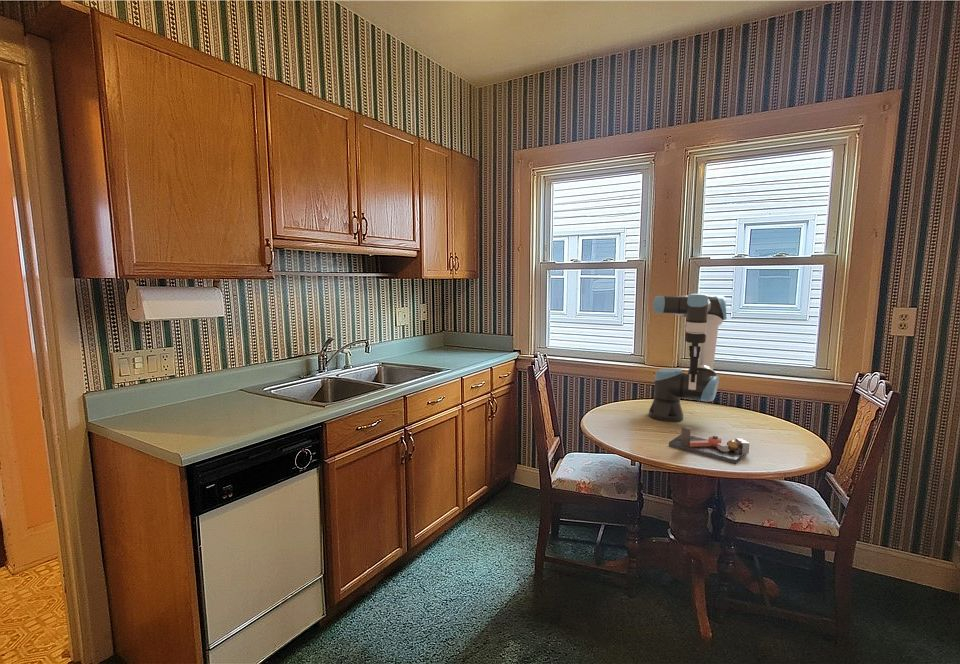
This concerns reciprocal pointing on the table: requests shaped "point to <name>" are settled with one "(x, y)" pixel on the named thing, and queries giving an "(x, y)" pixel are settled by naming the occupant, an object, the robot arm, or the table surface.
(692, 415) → the table surface
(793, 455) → the table surface
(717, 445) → the lever
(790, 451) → the table surface
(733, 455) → the base
